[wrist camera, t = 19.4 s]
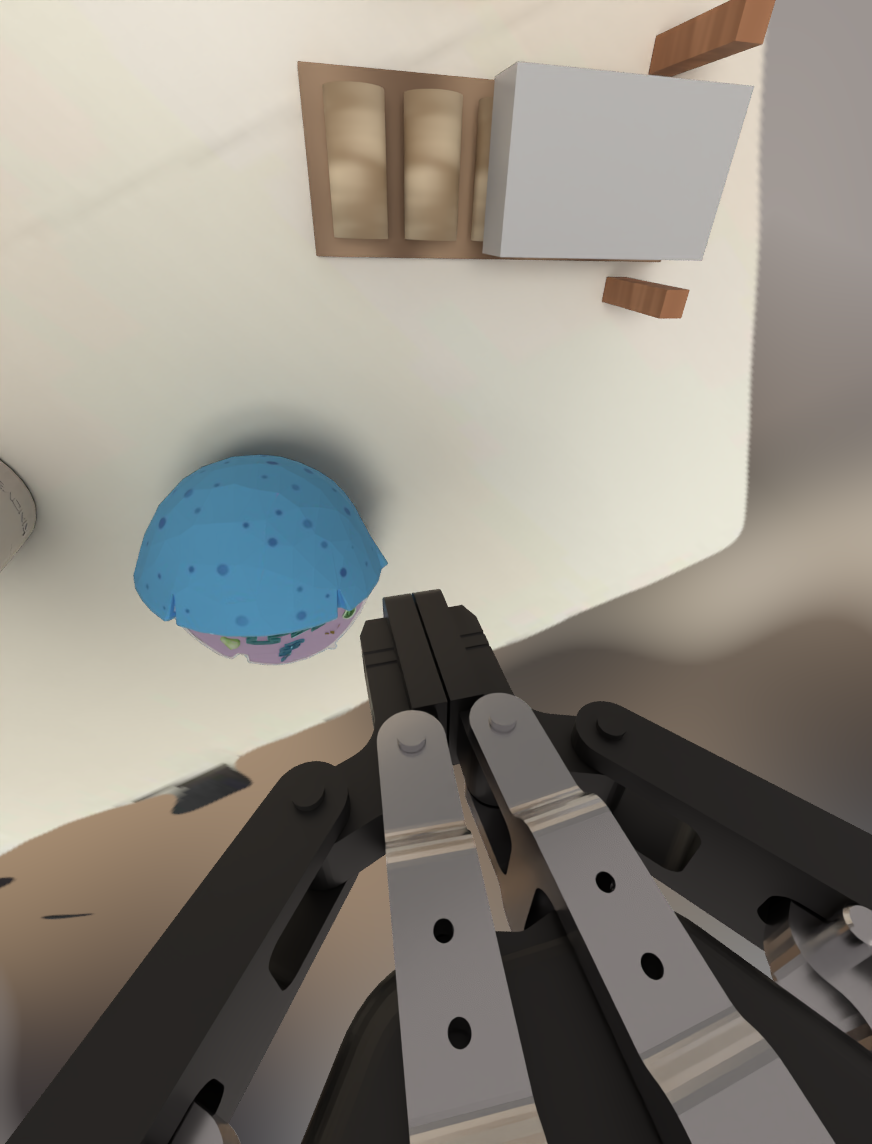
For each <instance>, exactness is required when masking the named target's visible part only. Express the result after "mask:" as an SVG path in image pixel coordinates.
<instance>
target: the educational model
mask: <svg viewBox="0 0 872 1144" xmlns="http://www.w3.org/2000/svg"><path fill="white" fill-rule="evenodd" d="M387 564H388V562H387V561H386V559H385V558H384V556H383V555H382V553H381V552H380V550H379V549H378V547H377V546H376V544H375V543H374V541H373V539H372V538H371V536H370V534H369V533H368V531H367V529H366V527H365V525H364V523H363V521H362V519H361V517H360V516H359V514H358V512H357V510H356V508H355V506H354V505H353V503H352V502H351V501H350V499H349V498H348V497H347V495H346V494H345V492H344V491H343V490H342V489H341V488H340V487H339V486H338V485H337V484H336V483H335V482H334V481H333V480H331V479H330V478H328V477H327V476H325V475H324V474H322V473H321V472H319V471H318V470H315V469H313V468H311V467H309V466H307V465H304V464H302V463H300V462H297V461H294V460H290V459H287V458H284V457H280V456H270V455H249V456H236V457H230V458H227V459H224V460H221V461H218V462H215V463H212V464H209V465H207V466H204V467H202V468H200V469H198V470H197V471H195V472H194V473H192V474H190V475H189V476H187V477H186V478H184V479H183V480H182V481H181V482H180V483H179V484H178V485H177V486H176V487H175V488H174V489H173V490H172V492H171V493H170V494H169V495H168V496H167V497H166V498H165V499H164V500H163V501H162V502H161V504H160V505H159V506H158V508H157V510H156V512H155V514H154V516H153V518H152V520H151V522H150V524H149V526H148V528H147V530H146V532H145V535H144V538H143V541H142V545H141V548H140V552H139V556H138V560H137V564H136V568H135V572H134V575H133V576H134V583H135V589H136V591H137V592H138V594H139V596H140V598H141V599H142V601H143V602H144V603H145V604H146V606H147V607H148V608H149V609H150V610H151V611H152V612H153V613H154V614H156V615H157V616H158V617H160V618H161V619H162V620H163V621H170V620H172V619H174V618H175V620H176V624H177V625H178V626H181V627H183V628H184V629H185V630H186V631H187V632H188V633H189V634H190V635H191V636H193V637H194V638H195V639H196V640H198V641H199V642H200V643H201V644H203V645H204V646H206V647H207V648H209V649H211V650H212V651H214V652H215V653H217V654H218V655H221V656H224V657H226V658H229V659H233V658H235V657H236V656H237V655H239V654H242V655H245V656H246V657H247V660H248V662H249V663H255V664H262V665H282V664H289V663H293V662H297V661H301V660H304V659H307V658H309V657H312V656H314V655H316V654H318V653H320V652H323V651H325V650H327V649H335V648H336V647H337V645H336V642H337V641H338V640H339V639H340V638H341V637H342V636H343V635H344V633H345V632H346V631H347V630H348V629H349V628H350V627H351V626H352V624H353V623H354V621H355V620H356V618H357V617H358V616H359V614H360V613H361V611H362V609H363V607H364V605H365V603H366V601H367V598H368V596H369V594H370V593H371V591H372V590H373V588H374V587H375V585H376V584H377V582H378V581H379V577H380V573H381V569H382V568H383V567H385V566H386V565H387Z"/></svg>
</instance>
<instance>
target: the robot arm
mask: <svg viewBox="0 0 872 1144" xmlns="http://www.w3.org/2000/svg"><path fill="white" fill-rule="evenodd" d="M35 522H36V509H35V504H34V501H33V499H32V496H31V494H30V492H29V490H28V489H27V487H26V486H25V484H24V483H23V481H22V480H21V479H20V478H19V477H18V476H17V475H16V474H15V473H14V472H13V471H12V470H11V469H10V468H9V467H8V466H7V465H5V464H4V463H3V462H1V461H0V572H1V570H2V569H3V568H4V567H5V566H6V565H7V563H8V562H9V561H10V560H11V558H12V557H13V556H14V555H15V553H16V552H17V551H18V550H19V549H20V547H21V546H22V545H23V544H24V542H25V541H26V540H27V539H28V538H29V536H30V534H31V533H32V531H33V529H34V526H35ZM383 615H384V618H380V619H373V620H367V621H366V622H365V624H364V627H363V630H362V632H361V635H360V640H361V649H362V657H363V665H364V673H365V680H366V686H367V692H368V698H369V703H370V709H371V715H372V720H373V726H374V732H373V734H372V737H371V739H370V740H369V742H368V743H367V745H366V746H365V747H364V748H363V749H362V750H361V751H360V752H358V753H357V754H356V755H354V756H353V757H351V758H349V759H347V760H346V761H344V762H342V763H340V764H338V765H337V766H333V765H331V764H329V763H326V762H320V761H312V762H307V763H303V764H300V765H298V766H296V767H294V768H292V769H291V770H289V771H288V772H287V773H285V774H284V775H283V776H282V777H281V778H280V780H279V781H278V782H277V783H276V785H275V786H274V787H273V789H272V790H271V791H270V793H269V794H268V795H267V797H266V798H265V799H264V801H263V802H262V803H261V805H260V806H259V807H258V809H257V810H256V811H255V813H254V814H253V815H252V817H251V818H250V819H249V821H248V822H247V823H246V825H245V826H244V827H243V828H242V830H241V831H240V832H239V834H238V835H237V836H236V838H235V839H234V841H233V842H232V843H231V844H230V846H229V847H228V848H227V850H226V851H225V852H224V854H223V855H222V856H221V858H220V859H219V860H218V862H217V863H216V864H215V866H214V867H213V868H212V870H211V871H210V872H209V874H208V875H207V876H206V878H205V879H204V880H203V882H202V883H201V884H200V886H199V887H198V888H197V890H196V891H195V892H194V894H193V895H192V896H191V898H190V899H189V900H188V901H187V903H186V904H185V906H184V907H183V908H182V909H181V911H180V912H179V913H178V915H177V916H176V917H175V919H174V920H173V922H172V923H171V924H170V925H169V927H168V928H167V929H166V931H165V932H164V933H163V935H162V936H161V937H160V939H159V940H158V942H157V943H156V944H155V945H154V947H153V948H152V949H151V951H150V952H149V953H148V955H147V956H146V957H145V959H144V960H143V962H142V963H141V964H140V965H139V967H138V968H137V969H136V971H135V972H134V973H133V975H132V976H131V977H130V979H129V980H128V981H127V983H126V984H125V985H124V987H123V988H122V989H121V990H120V992H119V993H118V995H117V996H116V997H115V998H114V1000H113V1001H112V1002H111V1004H110V1005H109V1007H108V1008H107V1009H106V1011H105V1012H104V1013H103V1014H102V1016H101V1017H100V1019H99V1020H98V1021H97V1022H96V1024H95V1025H94V1027H93V1028H92V1029H91V1031H90V1032H89V1033H88V1034H87V1036H86V1037H85V1038H84V1040H83V1041H82V1042H81V1044H80V1045H79V1046H78V1048H77V1049H76V1050H75V1052H74V1053H73V1054H72V1056H71V1057H70V1058H69V1060H68V1061H67V1062H66V1064H65V1065H64V1066H63V1068H62V1069H61V1070H60V1072H59V1073H58V1074H57V1076H56V1077H55V1078H54V1080H53V1081H52V1082H51V1083H50V1085H49V1086H48V1088H47V1089H46V1090H45V1092H44V1093H43V1094H42V1095H41V1097H40V1098H39V1100H38V1101H37V1102H36V1104H35V1105H34V1106H33V1107H32V1109H31V1110H30V1111H29V1113H28V1114H27V1115H26V1117H25V1118H24V1119H23V1121H22V1122H21V1123H20V1125H19V1126H18V1127H17V1129H16V1130H15V1131H14V1133H13V1134H12V1135H11V1137H10V1138H9V1139H8V1141H7V1142H6V1143H5V1144H241V1143H240V1141H239V1138H238V1136H237V1134H236V1133H235V1131H234V1129H233V1128H232V1127H231V1126H230V1125H229V1122H230V1120H231V1118H232V1116H233V1114H234V1112H235V1110H236V1108H237V1106H238V1104H239V1102H240V1101H241V1099H242V1097H243V1095H244V1093H245V1091H246V1089H247V1087H248V1085H249V1083H250V1081H251V1079H252V1077H253V1075H254V1074H255V1072H256V1070H257V1068H258V1066H259V1064H260V1062H261V1060H262V1058H263V1056H264V1055H265V1053H266V1051H267V1049H268V1047H269V1045H270V1043H271V1041H272V1039H273V1037H274V1035H275V1034H276V1031H277V1030H278V1028H279V1026H280V1024H281V1022H282V1020H283V1018H284V1016H285V1014H286V1012H287V1011H288V1009H289V1007H290V1005H291V1003H292V1001H293V999H294V997H295V995H296V993H297V991H298V989H299V988H300V986H301V984H302V982H303V980H304V978H305V976H306V974H307V972H308V970H309V968H310V966H311V964H312V962H313V961H314V959H315V957H316V955H317V953H318V951H319V949H320V947H321V945H322V943H323V941H324V940H325V938H326V936H327V934H328V932H329V930H330V928H331V926H332V924H333V922H334V921H335V919H336V917H337V915H338V913H339V911H340V909H341V907H342V905H343V903H344V901H345V899H346V898H347V896H348V894H349V892H350V890H351V888H352V886H353V884H354V882H355V880H356V878H357V876H358V873H359V872H360V871H362V870H363V869H364V868H366V867H368V866H369V865H370V864H372V863H373V862H375V861H376V860H378V859H379V858H381V857H382V856H384V855H385V854H386V862H387V873H388V886H389V899H390V910H391V922H392V934H393V946H394V958H395V970H394V971H392V972H391V973H390V974H389V975H388V976H387V977H386V978H385V979H384V980H383V981H381V982H380V983H379V984H378V986H377V987H376V988H375V989H374V990H373V991H372V993H371V994H370V995H369V996H368V997H367V999H366V1000H365V1002H364V1004H363V1005H362V1006H361V1008H360V1009H359V1011H358V1012H357V1014H356V1015H355V1017H354V1019H353V1021H352V1023H351V1025H350V1026H349V1029H348V1030H347V1032H346V1034H345V1037H344V1039H343V1042H342V1044H341V1046H340V1048H339V1051H338V1054H337V1056H336V1058H335V1061H334V1063H333V1066H332V1068H331V1071H330V1073H329V1076H328V1078H327V1081H326V1083H325V1086H324V1088H323V1091H322V1093H321V1095H320V1098H319V1100H318V1103H317V1105H316V1108H315V1110H314V1113H313V1115H312V1118H311V1120H310V1123H309V1125H308V1128H307V1130H306V1133H305V1135H304V1138H303V1140H302V1142H301V1144H872V835H871V834H869V833H867V832H865V831H863V830H861V829H860V828H857V827H856V826H854V825H852V824H850V823H848V822H846V821H844V820H842V819H840V818H838V817H836V816H834V815H832V814H830V813H828V812H826V811H824V810H823V809H820V808H819V807H817V806H814V805H813V804H811V803H809V802H807V801H805V800H803V799H801V798H799V797H797V796H795V795H793V794H791V793H789V792H787V791H785V790H783V789H782V788H779V787H778V786H776V785H774V784H772V783H770V782H768V781H766V780H764V779H762V778H760V777H758V776H756V775H754V774H752V773H750V772H748V771H746V770H744V769H742V768H741V767H738V766H737V765H735V764H733V763H731V762H729V761H727V760H725V759H723V758H721V757H719V756H717V755H715V754H713V753H711V752H709V751H708V750H706V749H704V748H702V747H700V746H698V745H696V744H694V743H692V742H690V741H688V740H686V739H684V738H682V737H680V736H678V735H676V734H674V733H672V732H670V731H669V730H667V729H665V728H662V727H661V726H659V725H657V724H655V723H653V722H651V721H649V720H647V719H645V718H643V717H641V716H639V715H637V714H635V713H634V712H631V711H630V710H627V709H626V708H624V707H622V706H619V705H617V704H614V703H611V702H604V701H603V702H601V701H598V702H592V703H589V704H587V705H585V706H583V707H582V708H581V709H580V710H579V712H578V714H577V716H568V715H557V714H547V713H542V712H539V711H536V710H533V709H531V708H530V707H529V706H528V705H527V704H526V703H525V702H524V701H523V700H521V699H520V698H518V697H516V696H515V695H514V694H513V692H512V690H511V688H510V686H509V684H508V682H507V680H506V678H505V676H504V674H503V672H502V670H501V668H500V665H499V663H498V661H497V659H496V657H495V655H494V653H493V651H492V649H491V647H490V646H489V642H488V640H487V638H486V636H485V634H483V630H482V628H481V626H480V624H479V622H478V620H477V617H476V616H475V615H474V614H472V613H471V612H470V611H469V610H468V609H466V608H465V607H464V606H463V605H460V606H453V607H448V606H447V603H446V601H445V598H444V596H443V594H442V592H441V590H440V589H436V590H429V591H423V592H416V593H412V595H411V594H404V595H397V596H390V597H384V598H383ZM456 764H460V766H461V768H462V772H463V775H464V778H465V784H464V793H465V797H466V800H467V803H468V805H469V807H470V810H471V813H472V815H473V818H474V820H475V823H476V825H477V828H478V830H479V833H480V836H481V838H482V840H483V843H484V846H485V848H486V850H487V853H488V856H489V858H490V861H491V863H492V866H493V869H494V871H495V874H496V876H497V879H498V882H499V886H500V890H501V897H502V902H503V907H504V911H505V914H506V918H507V921H508V923H509V927H510V929H511V932H501V931H498V932H497V931H495V928H494V924H493V920H492V916H491V911H490V906H489V902H488V898H487V893H486V890H485V885H484V880H483V876H482V871H481V867H480V863H479V858H478V854H477V850H476V846H475V842H474V839H473V836H472V834H471V832H470V831H469V830H468V829H467V827H466V824H465V820H464V816H463V812H462V807H461V803H460V798H459V793H458V789H457V784H456V780H455V775H454V771H453V766H452V765H456ZM652 876H653V877H654V878H656V879H657V880H659V881H661V882H662V883H664V884H665V885H666V886H668V887H669V888H671V889H672V890H674V891H676V892H677V893H678V894H680V895H681V896H683V897H684V898H686V899H687V900H689V901H690V902H692V903H693V904H695V905H696V906H698V907H699V908H701V909H702V910H704V911H705V912H707V913H709V914H710V915H711V916H713V917H714V918H716V919H717V920H719V921H720V922H722V923H723V924H725V925H726V926H728V927H729V928H731V929H732V930H734V931H735V932H737V933H738V934H740V935H741V936H743V937H744V938H746V939H747V940H749V941H750V942H751V943H753V944H755V945H756V946H758V947H759V948H760V949H762V950H764V951H765V955H766V958H767V961H768V964H769V966H770V972H771V976H772V979H773V980H771V979H770V978H769V977H768V976H766V975H765V974H763V973H762V972H761V971H759V970H758V969H757V968H755V967H754V966H752V965H751V964H750V963H748V962H747V961H745V960H744V959H743V958H741V957H740V956H739V955H737V954H736V953H734V952H733V951H732V950H730V949H729V948H728V947H726V946H725V945H723V944H722V943H720V942H719V941H718V940H716V939H715V938H714V937H712V936H711V935H710V934H708V933H707V932H706V931H704V930H703V929H701V928H700V927H699V926H697V925H696V924H694V923H693V922H691V921H690V920H689V919H687V918H685V917H683V916H682V915H680V914H678V913H676V912H675V911H673V910H672V908H671V906H670V905H669V903H668V902H667V900H666V898H665V897H664V896H663V894H662V892H661V891H660V889H659V888H658V886H657V884H656V883H655V881H654V879H653V878H652Z"/></svg>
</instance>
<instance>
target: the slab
mask: <svg viewBox="0 0 872 1144" xmlns="http://www.w3.org/2000/svg"><path fill="white" fill-rule="evenodd" d="M753 89H754V86H749V85H739V84H730V83H720V82H710V81H701V80H691V79H682V78H672V77H662V76H653V75H643V74H634V73H624V72H615V71H605V70H595V69H586V68H576V67H567V66H557V65H548V64H538V63H528V62H519V61H518V62H516V63H515V64H513V65H512V66H510V67H509V68H507V69H506V70H504V71H503V72H501V73H500V74H498V75H497V76H495V83H494V97H493V111H492V125H491V139H490V153H489V167H488V181H487V195H486V209H485V223H484V237H483V251H482V253H484V254H489V255H493V256H497V257H523V258H580V259H636V260H693V261H702V258H703V255H704V252H705V248H706V245H707V242H708V238H709V235H710V232H711V228H712V225H713V222H714V218H715V215H716V212H717V208H718V205H719V202H720V198H721V195H722V192H723V188H724V185H725V182H726V178H727V175H728V172H729V168H730V165H731V162H732V158H733V155H734V152H735V148H736V145H737V142H738V138H739V135H740V132H741V128H742V125H743V122H744V118H745V115H746V112H747V108H748V105H749V102H750V98H751V95H752V92H753Z"/></svg>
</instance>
